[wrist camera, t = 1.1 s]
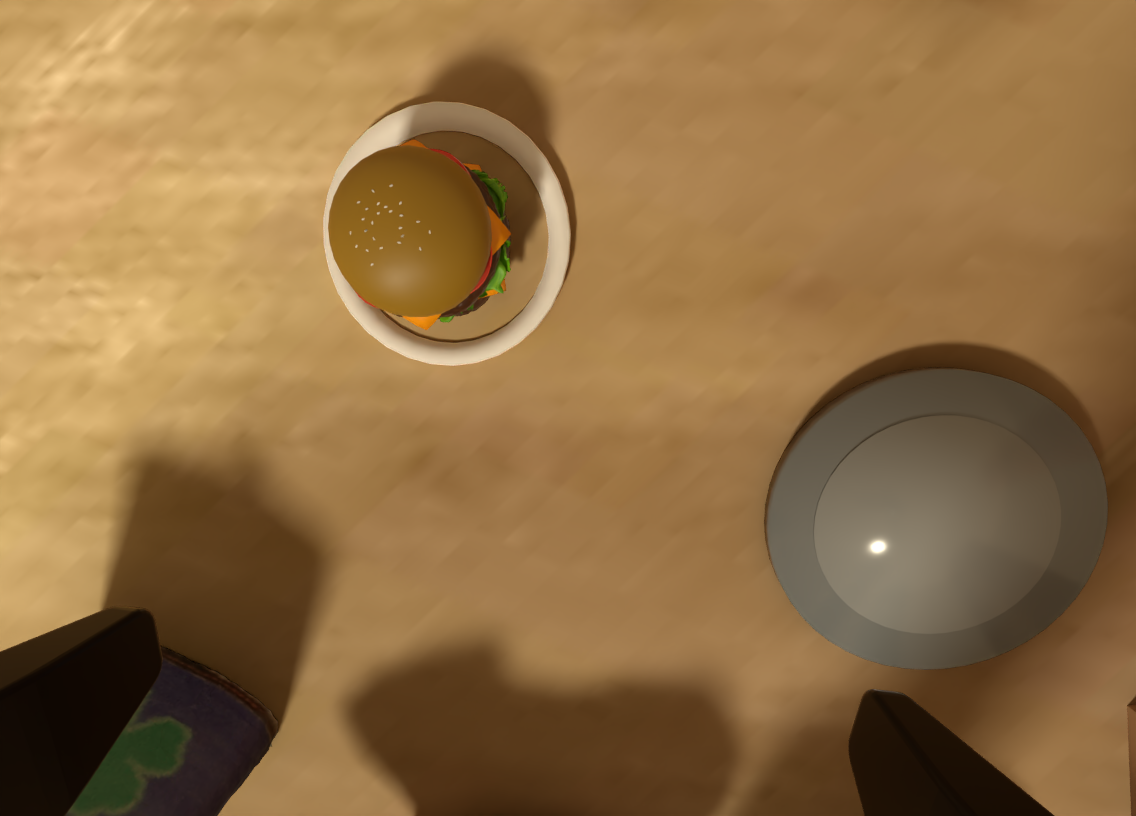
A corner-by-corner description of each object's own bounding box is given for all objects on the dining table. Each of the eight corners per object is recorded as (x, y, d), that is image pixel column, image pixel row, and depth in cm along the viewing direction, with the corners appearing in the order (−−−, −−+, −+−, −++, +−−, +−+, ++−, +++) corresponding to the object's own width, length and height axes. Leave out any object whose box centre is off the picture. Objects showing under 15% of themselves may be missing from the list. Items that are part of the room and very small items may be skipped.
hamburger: (645, 89, 19) (652, 7, 14) (585, 427, 22) (572, 469, 16) (310, 41, 20) (193, -55, 15) (288, 372, 22) (181, 395, 17)
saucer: (1095, 636, 20) (1116, 652, 20) (785, 671, 22) (792, 687, 21) (1081, 339, 19) (1103, 340, 18) (744, 398, 20) (749, 403, 19)
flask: (86, 661, 25) (-295, 917, 15) (106, 610, 25) (-278, 839, 14) (268, 759, 25) (16, 1084, 15) (292, 710, 25) (47, 1014, 14)
